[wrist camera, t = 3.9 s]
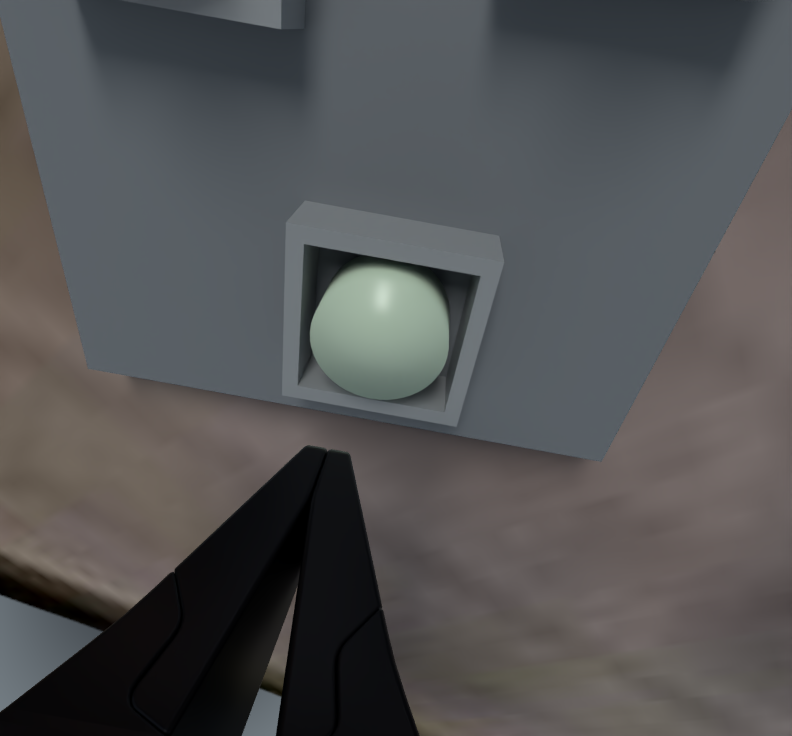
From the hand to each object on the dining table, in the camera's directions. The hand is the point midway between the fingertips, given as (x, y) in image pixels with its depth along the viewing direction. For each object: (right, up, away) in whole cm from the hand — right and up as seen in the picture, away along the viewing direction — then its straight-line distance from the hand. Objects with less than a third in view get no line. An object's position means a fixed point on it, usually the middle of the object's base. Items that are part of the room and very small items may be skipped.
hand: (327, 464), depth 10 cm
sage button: (+1, +4, +6) cm, 7 cm away
